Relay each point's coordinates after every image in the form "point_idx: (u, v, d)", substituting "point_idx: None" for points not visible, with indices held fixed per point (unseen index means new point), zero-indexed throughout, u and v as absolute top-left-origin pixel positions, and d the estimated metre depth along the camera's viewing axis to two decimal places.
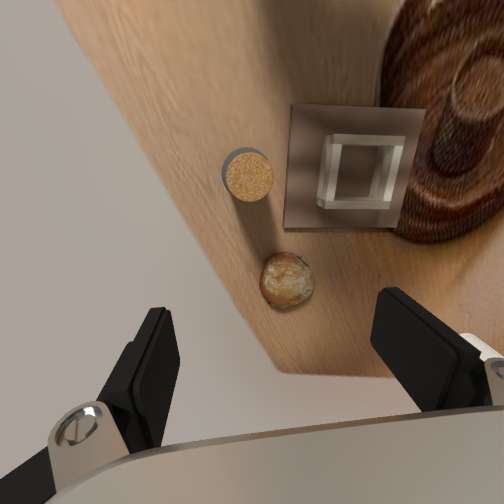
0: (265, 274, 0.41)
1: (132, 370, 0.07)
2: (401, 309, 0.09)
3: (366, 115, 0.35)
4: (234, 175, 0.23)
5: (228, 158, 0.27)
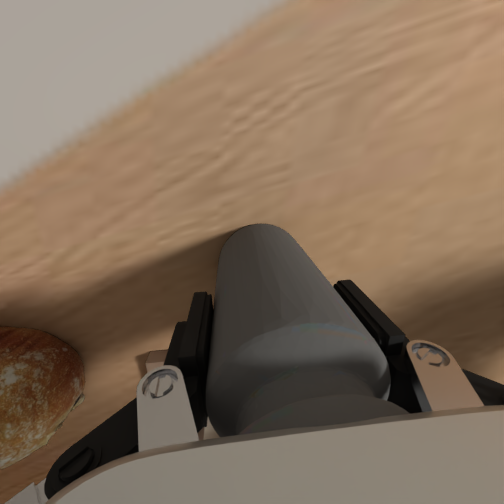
0: None
1: (194, 341, 0.08)
2: (349, 299, 0.10)
3: None
4: None
5: (365, 345, 0.07)
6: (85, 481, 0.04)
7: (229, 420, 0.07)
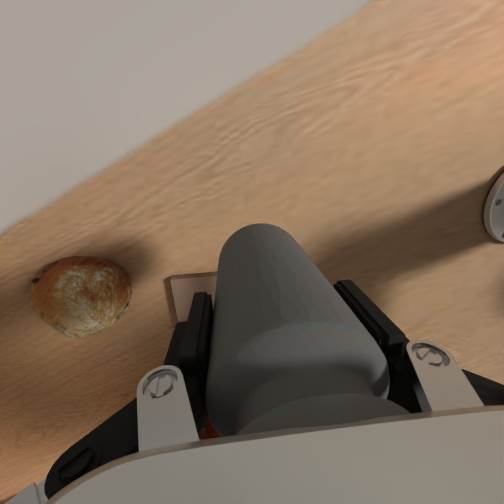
0: (87, 269, 0.27)
1: (194, 341, 0.08)
2: (349, 299, 0.10)
3: None
4: None
5: (365, 344, 0.07)
6: (85, 481, 0.04)
7: (229, 419, 0.07)
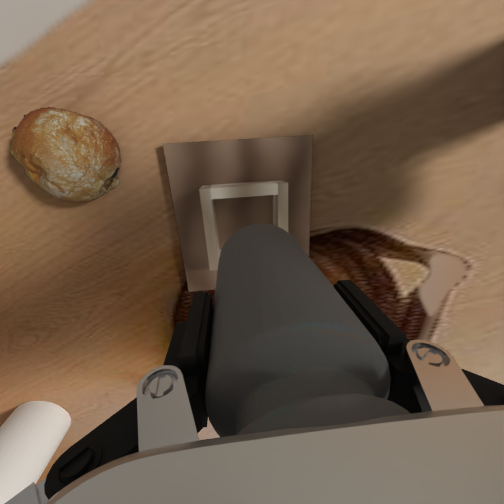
0: (69, 112, 0.25)
1: (194, 341, 0.08)
2: (349, 299, 0.10)
3: (302, 223, 0.33)
4: None
5: (365, 344, 0.07)
6: (85, 481, 0.04)
7: (229, 419, 0.07)
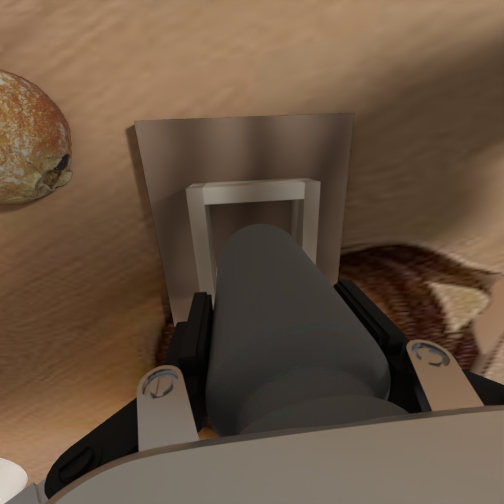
0: None
1: (194, 341, 0.08)
2: (349, 299, 0.10)
3: (331, 238, 0.24)
4: None
5: (365, 345, 0.07)
6: (85, 481, 0.04)
7: (229, 420, 0.07)
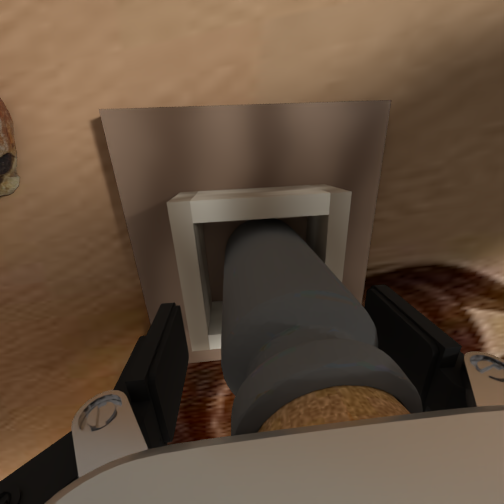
0: None
1: (148, 361, 0.07)
2: (388, 306, 0.09)
3: (354, 259, 0.19)
4: None
5: (355, 309, 0.08)
6: (85, 481, 0.04)
7: (242, 373, 0.08)
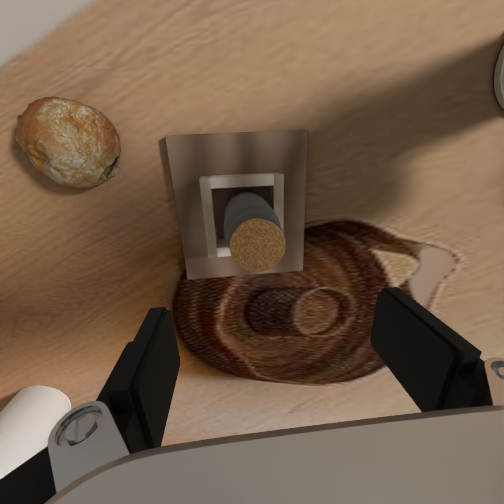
0: (72, 101, 0.26)
1: (132, 370, 0.07)
2: (401, 309, 0.09)
3: (297, 215, 0.35)
4: (260, 229, 0.20)
5: (269, 210, 0.23)
6: (85, 481, 0.04)
7: None
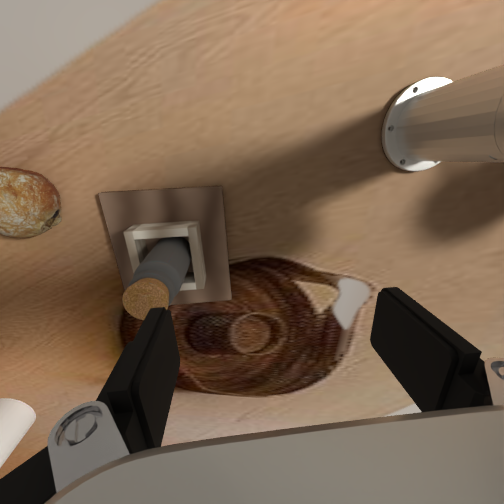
0: (12, 172, 0.32)
1: (132, 370, 0.07)
2: (401, 309, 0.09)
3: (220, 254, 0.40)
4: (145, 289, 0.25)
5: (168, 266, 0.29)
6: (85, 481, 0.04)
7: None
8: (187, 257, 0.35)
